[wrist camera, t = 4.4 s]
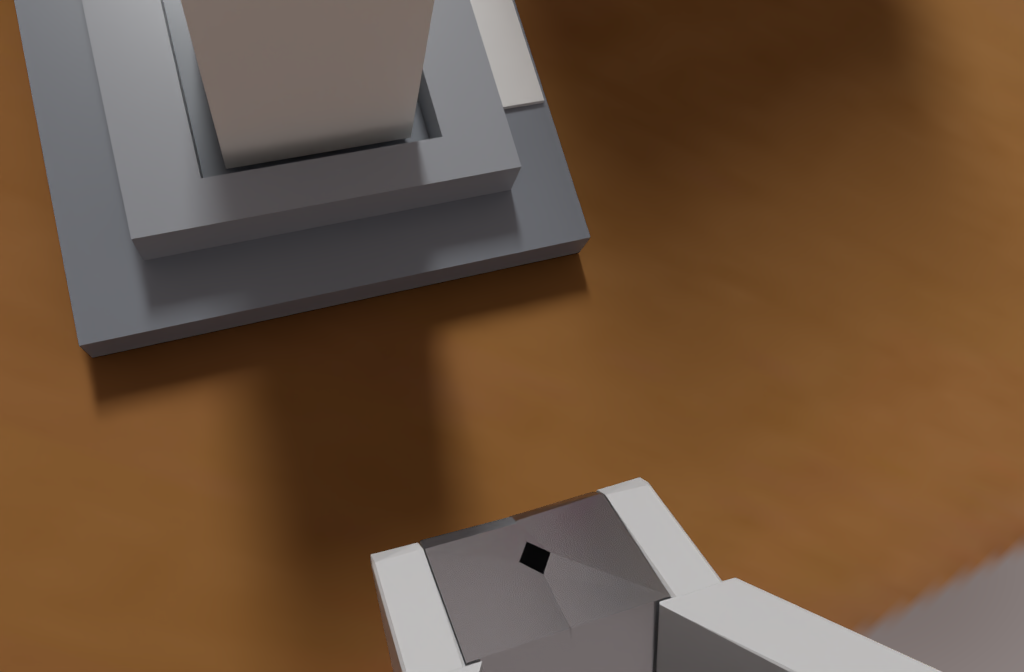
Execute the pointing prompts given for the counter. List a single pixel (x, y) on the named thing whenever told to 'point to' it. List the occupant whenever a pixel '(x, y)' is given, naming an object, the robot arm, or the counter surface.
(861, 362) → the counter surface
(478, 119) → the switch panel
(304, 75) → the white rectangular block
